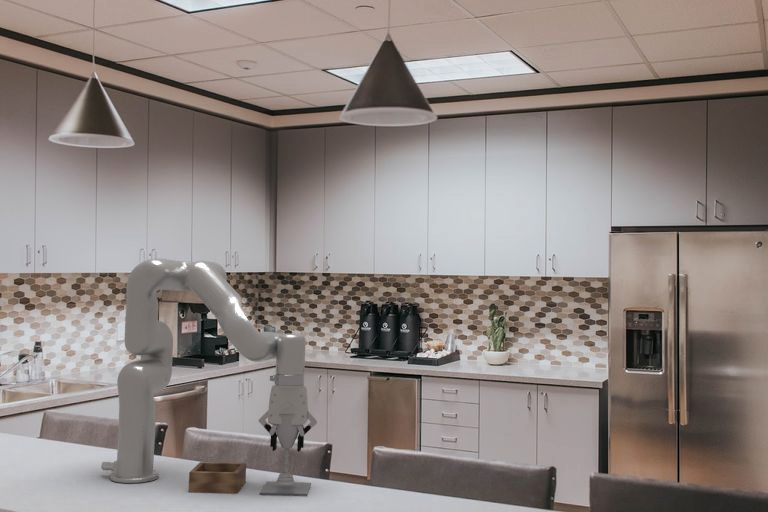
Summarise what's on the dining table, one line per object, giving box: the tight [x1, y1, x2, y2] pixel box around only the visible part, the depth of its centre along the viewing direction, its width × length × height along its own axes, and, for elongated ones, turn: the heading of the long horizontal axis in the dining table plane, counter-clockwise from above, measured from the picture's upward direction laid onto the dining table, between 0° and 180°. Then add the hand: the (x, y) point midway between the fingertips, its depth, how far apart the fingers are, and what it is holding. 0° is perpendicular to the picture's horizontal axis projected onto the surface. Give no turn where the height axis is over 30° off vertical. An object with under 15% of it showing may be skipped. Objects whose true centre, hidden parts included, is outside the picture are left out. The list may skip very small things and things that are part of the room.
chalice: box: [275, 415, 299, 485], centre depth 202 cm, size 7×7×18 cm
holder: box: [188, 461, 247, 495], centre depth 202 cm, size 12×12×5 cm
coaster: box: [259, 481, 312, 497], centre depth 201 cm, size 12×12×1 cm
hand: (286, 449), depth 202 cm, fingers closed on chalice, 5 cm apart
